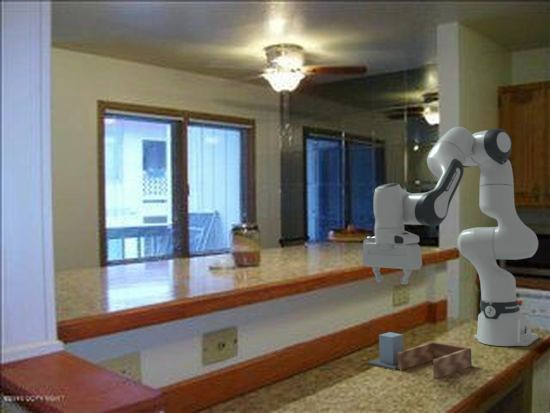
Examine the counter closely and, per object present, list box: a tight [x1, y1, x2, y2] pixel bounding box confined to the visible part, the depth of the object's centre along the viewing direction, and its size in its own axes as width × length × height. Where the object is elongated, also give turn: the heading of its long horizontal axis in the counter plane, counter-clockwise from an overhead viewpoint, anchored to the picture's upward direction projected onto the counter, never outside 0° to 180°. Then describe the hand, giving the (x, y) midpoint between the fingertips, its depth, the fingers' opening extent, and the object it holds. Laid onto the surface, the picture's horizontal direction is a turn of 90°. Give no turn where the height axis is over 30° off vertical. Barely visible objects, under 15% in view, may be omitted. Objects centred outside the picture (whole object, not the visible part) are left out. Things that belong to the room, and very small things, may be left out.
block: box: [378, 331, 404, 364], centre depth 171 cm, size 5×5×8 cm
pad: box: [366, 357, 398, 370], centre depth 170 cm, size 10×10×1 cm
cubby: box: [397, 341, 473, 380], centre depth 164 cm, size 17×13×5 cm
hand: (391, 282), depth 171 cm, fingers open, 8 cm apart
